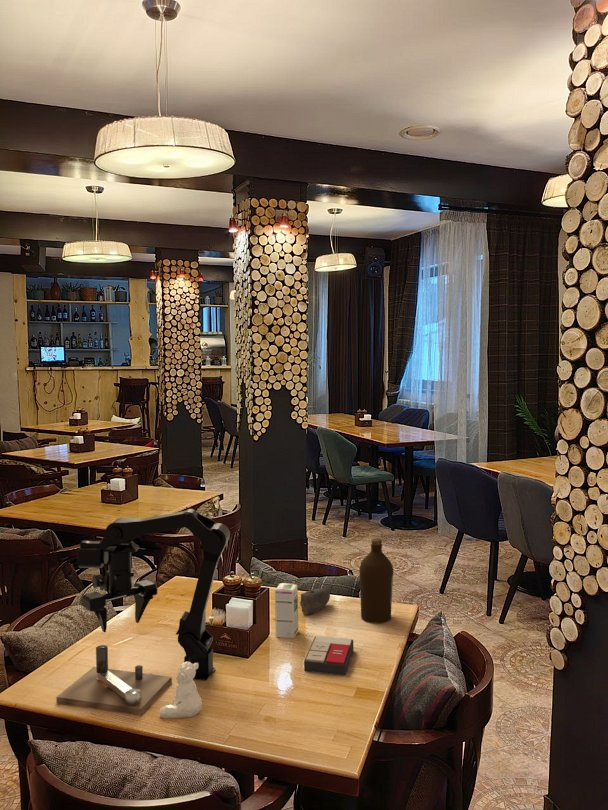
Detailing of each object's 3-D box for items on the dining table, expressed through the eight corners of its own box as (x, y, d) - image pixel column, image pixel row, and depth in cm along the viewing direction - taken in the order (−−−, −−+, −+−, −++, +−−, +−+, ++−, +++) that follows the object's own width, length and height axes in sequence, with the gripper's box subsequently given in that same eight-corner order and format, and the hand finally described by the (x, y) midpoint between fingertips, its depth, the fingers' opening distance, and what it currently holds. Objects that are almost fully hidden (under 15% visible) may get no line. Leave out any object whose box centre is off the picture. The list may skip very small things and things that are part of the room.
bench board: (171, 682, 168) (171, 665, 168) (141, 715, 152) (140, 696, 152) (93, 672, 173) (93, 655, 173) (56, 703, 158) (56, 684, 158)
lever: (144, 700, 155) (143, 669, 154) (130, 706, 152) (129, 674, 152) (106, 672, 169) (106, 643, 169) (93, 677, 167) (92, 647, 166)
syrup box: (294, 638, 195) (294, 590, 194) (274, 637, 196) (274, 588, 195) (298, 631, 200) (298, 583, 199) (279, 629, 201) (279, 582, 200)
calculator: (303, 658, 174) (315, 633, 189) (303, 674, 174) (315, 647, 189) (345, 663, 172) (353, 636, 186) (345, 678, 172) (353, 651, 187)
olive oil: (365, 625, 204) (365, 545, 203) (354, 613, 214) (355, 536, 213) (397, 622, 206) (398, 543, 205) (386, 610, 217) (386, 534, 215)
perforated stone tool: (323, 601, 225) (323, 581, 224) (336, 605, 221) (336, 584, 221) (295, 614, 213) (295, 593, 213) (307, 618, 210) (307, 597, 209)
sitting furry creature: (180, 698, 160) (179, 649, 159) (211, 705, 157) (211, 656, 156) (157, 717, 151) (156, 666, 151) (189, 725, 148) (189, 673, 147)
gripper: (137, 554, 184) (138, 609, 185) (71, 568, 172) (73, 627, 173) (158, 563, 176) (159, 621, 177) (90, 578, 163) (91, 640, 164)
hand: (121, 627), depth 173 cm, fingers open, 9 cm apart
